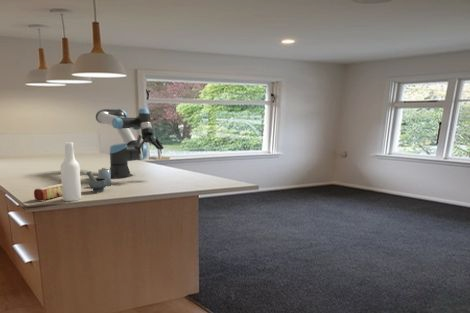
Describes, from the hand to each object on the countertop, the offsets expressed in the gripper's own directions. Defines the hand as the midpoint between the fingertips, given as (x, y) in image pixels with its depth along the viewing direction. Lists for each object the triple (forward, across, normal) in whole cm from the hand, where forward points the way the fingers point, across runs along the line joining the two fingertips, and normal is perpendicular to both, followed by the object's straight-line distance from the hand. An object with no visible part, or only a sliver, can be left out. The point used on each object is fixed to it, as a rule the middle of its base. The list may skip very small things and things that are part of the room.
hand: (151, 158), depth 225 cm
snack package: (+22, -59, +1) cm, 63 cm away
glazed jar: (+14, -29, +10) cm, 34 cm away
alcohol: (+27, -54, -10) cm, 62 cm away
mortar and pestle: (+21, -38, -1) cm, 43 cm away
